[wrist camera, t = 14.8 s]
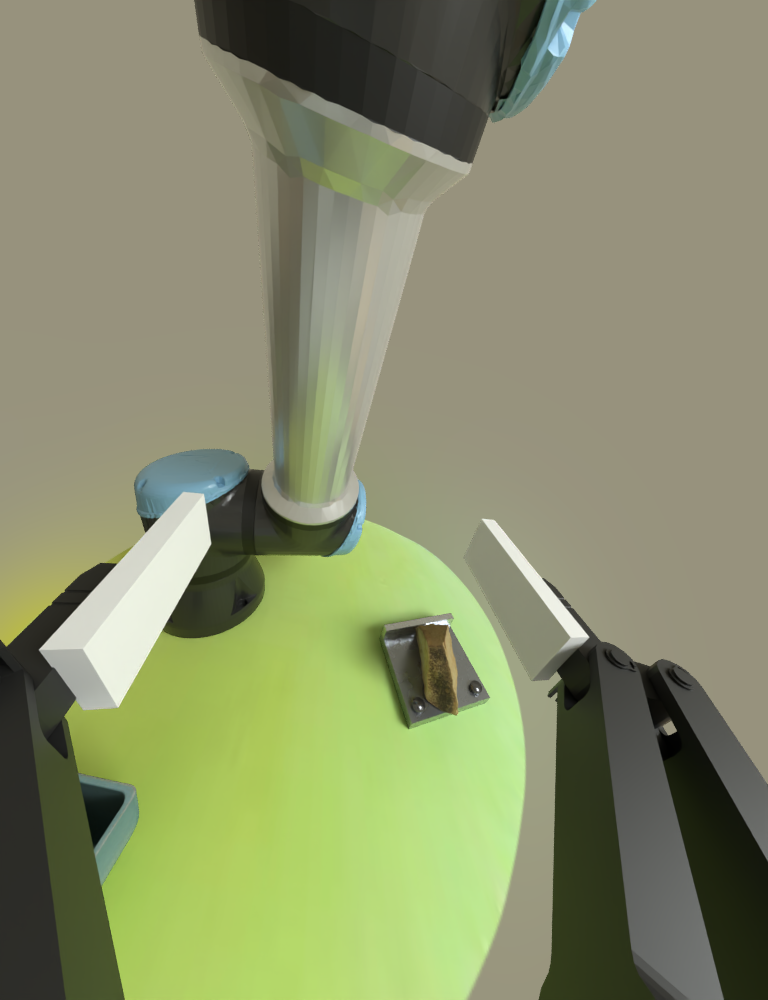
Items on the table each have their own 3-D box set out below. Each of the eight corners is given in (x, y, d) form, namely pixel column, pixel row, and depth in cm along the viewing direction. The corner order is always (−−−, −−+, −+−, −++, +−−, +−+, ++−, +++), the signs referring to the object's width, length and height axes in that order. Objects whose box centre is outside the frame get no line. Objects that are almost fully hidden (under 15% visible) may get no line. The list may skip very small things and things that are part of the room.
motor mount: (379, 638, 44) (384, 624, 42) (444, 625, 48) (450, 613, 46) (408, 729, 34) (416, 716, 32) (485, 702, 39) (495, 690, 37)
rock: (404, 610, 44) (383, 661, 35) (449, 591, 41) (439, 642, 32) (442, 663, 45) (431, 726, 36) (490, 649, 41) (492, 715, 32)
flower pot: (163, 818, 25) (140, 785, 20) (50, 1029, 17) (-30, 1052, 13) (67, 796, 25) (21, 758, 20) (-91, 999, 17) (-221, 1011, 13)
